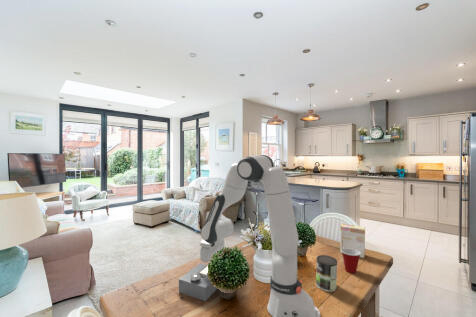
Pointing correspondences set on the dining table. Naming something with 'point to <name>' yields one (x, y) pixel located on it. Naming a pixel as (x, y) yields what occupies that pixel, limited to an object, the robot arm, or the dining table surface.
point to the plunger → (195, 277)
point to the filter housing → (196, 284)
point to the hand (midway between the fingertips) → (213, 263)
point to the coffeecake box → (353, 238)
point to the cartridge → (204, 272)
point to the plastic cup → (350, 259)
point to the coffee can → (326, 273)
